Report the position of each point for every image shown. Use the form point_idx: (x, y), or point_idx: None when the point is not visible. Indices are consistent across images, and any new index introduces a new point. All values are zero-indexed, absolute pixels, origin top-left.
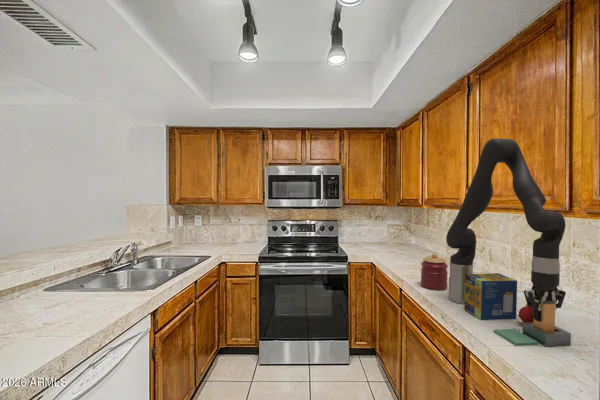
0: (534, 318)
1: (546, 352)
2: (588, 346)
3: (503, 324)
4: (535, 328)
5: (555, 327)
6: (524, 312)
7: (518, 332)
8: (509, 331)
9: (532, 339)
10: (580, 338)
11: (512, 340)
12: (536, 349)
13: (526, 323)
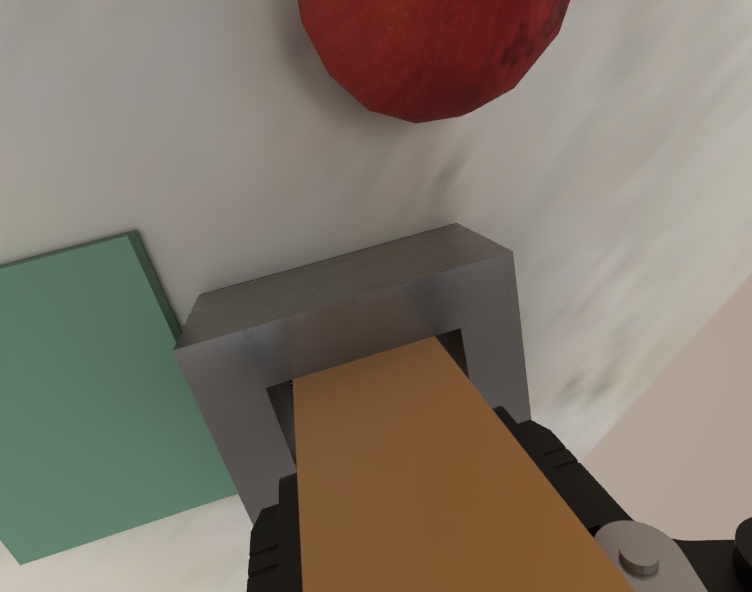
0: (266, 516)
1: (242, 568)
2: (602, 404)
3: (60, 17)
4: (254, 483)
5: (498, 400)
6: (347, 27)
7: (140, 329)
8: (37, 325)
9: (216, 452)
10: (664, 279)
11: (3, 520)
12: (188, 549)
13: (216, 360)
